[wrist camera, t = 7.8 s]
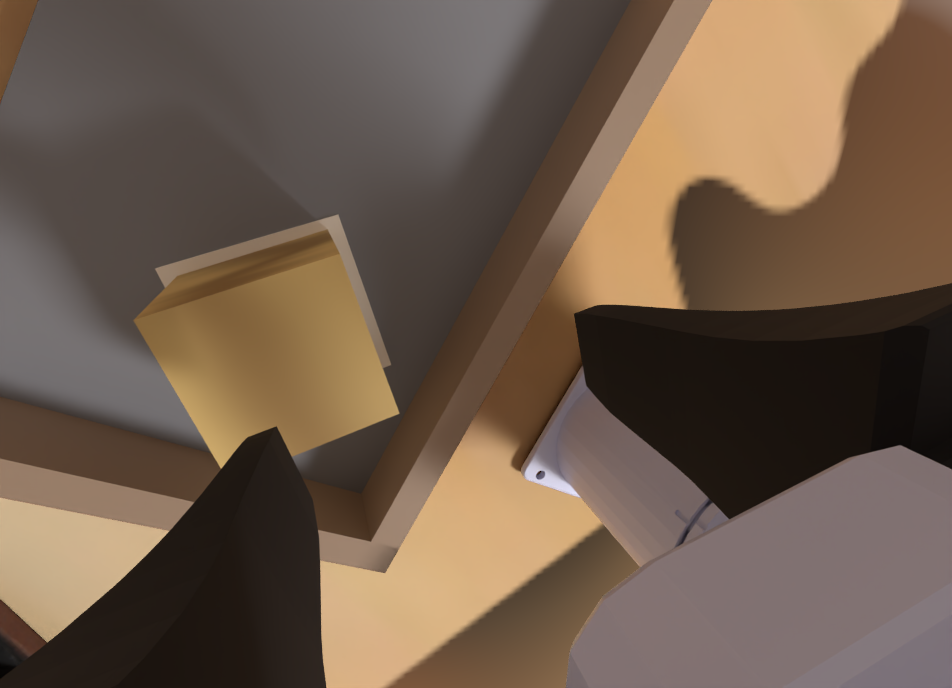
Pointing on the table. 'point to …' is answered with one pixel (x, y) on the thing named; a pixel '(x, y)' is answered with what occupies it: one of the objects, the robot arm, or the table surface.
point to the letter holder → (15, 640)
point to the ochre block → (269, 348)
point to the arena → (296, 217)
